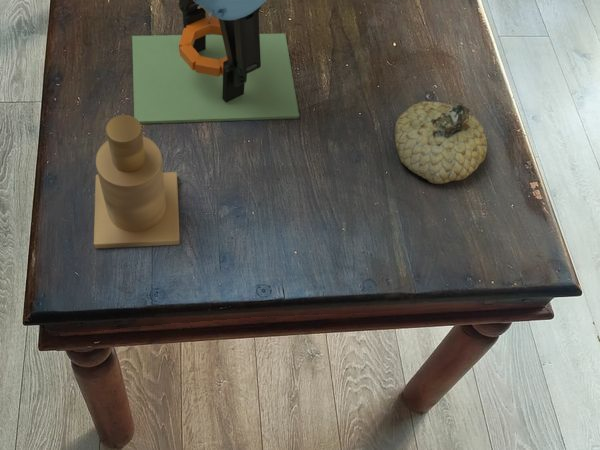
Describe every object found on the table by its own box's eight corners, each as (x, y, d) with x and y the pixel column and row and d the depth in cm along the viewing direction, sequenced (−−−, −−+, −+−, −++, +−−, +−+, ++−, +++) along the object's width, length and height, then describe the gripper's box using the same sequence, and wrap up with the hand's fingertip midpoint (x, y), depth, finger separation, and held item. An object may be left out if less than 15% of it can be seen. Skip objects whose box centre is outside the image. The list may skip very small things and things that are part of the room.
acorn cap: (486, 196, 85) (512, 115, 83) (414, 183, 80) (439, 97, 78) (439, 175, 94) (462, 101, 91) (371, 162, 89) (393, 84, 86)
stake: (94, 248, 76) (71, 169, 63) (96, 179, 80) (75, 91, 67) (179, 244, 77) (174, 166, 64) (177, 176, 81) (171, 90, 68)
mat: (134, 124, 84) (134, 121, 84) (132, 38, 91) (132, 35, 91) (298, 118, 88) (299, 115, 87) (284, 36, 94) (285, 33, 94)
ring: (204, 85, 82) (204, 77, 81) (168, 41, 85) (167, 33, 84) (260, 59, 85) (261, 50, 84) (223, 17, 88) (223, 9, 87)
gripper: (309, -35, 67) (286, 116, 87) (191, -153, 74) (194, 11, 94) (244, -8, 64) (235, 142, 84) (128, -133, 71) (144, 32, 91)
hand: (213, 73), depth 89 cm, fingers closed on ring, 8 cm apart
